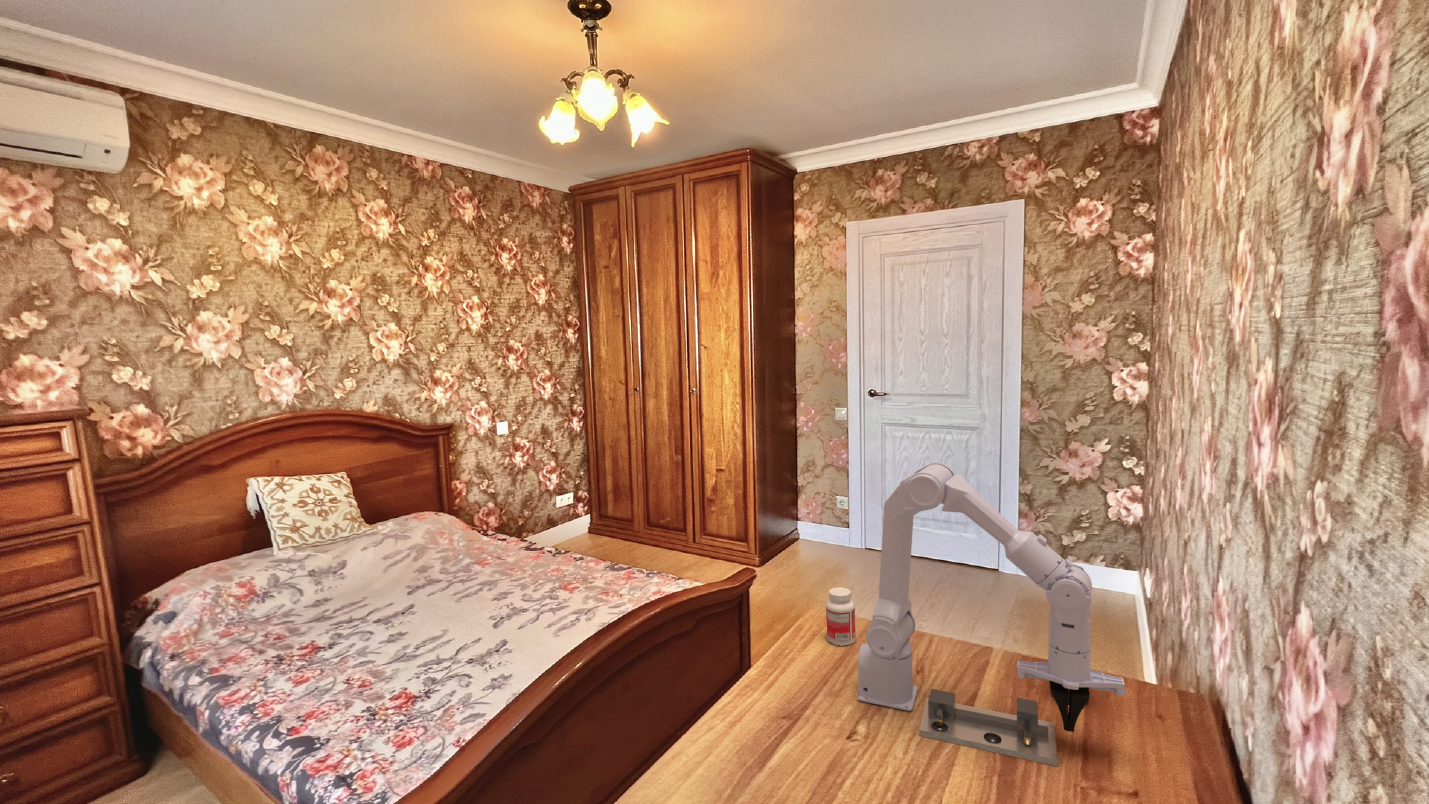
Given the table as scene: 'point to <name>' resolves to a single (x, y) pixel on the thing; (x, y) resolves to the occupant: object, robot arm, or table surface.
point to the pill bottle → (840, 617)
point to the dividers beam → (969, 714)
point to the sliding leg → (1027, 718)
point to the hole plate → (992, 736)
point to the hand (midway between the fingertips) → (1068, 727)
